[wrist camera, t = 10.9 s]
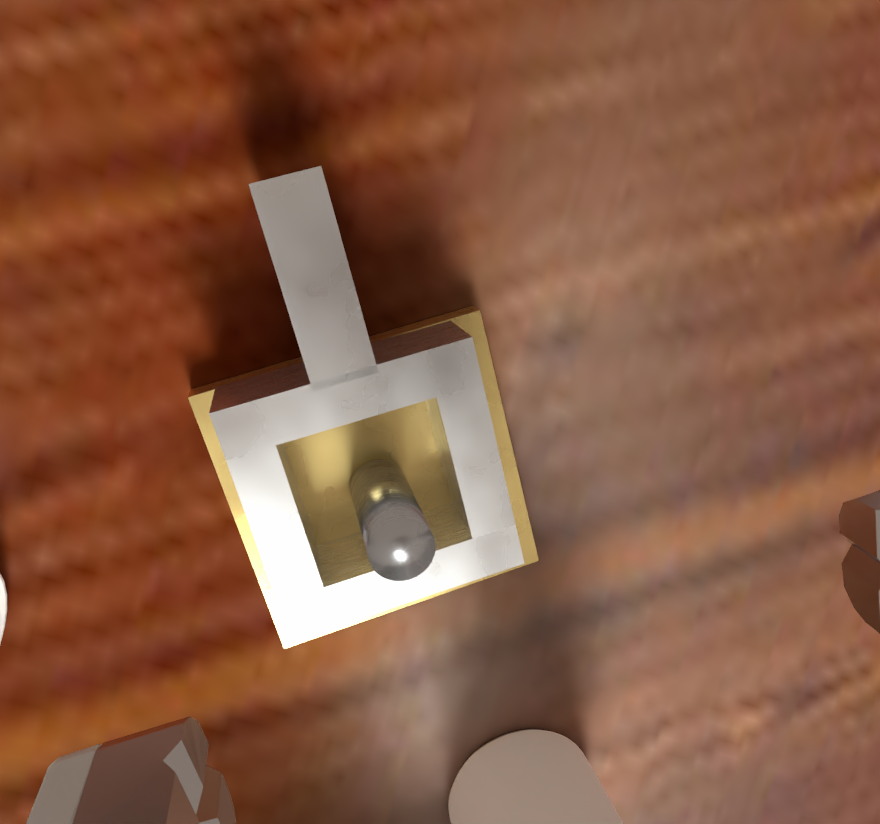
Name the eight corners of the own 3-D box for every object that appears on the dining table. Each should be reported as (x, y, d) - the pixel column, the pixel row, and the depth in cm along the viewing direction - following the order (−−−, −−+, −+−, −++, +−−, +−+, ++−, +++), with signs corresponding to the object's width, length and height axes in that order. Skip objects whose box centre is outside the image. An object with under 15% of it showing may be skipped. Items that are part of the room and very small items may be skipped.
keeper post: (472, 305, 27) (527, 338, 21) (530, 548, 30) (591, 633, 24) (190, 389, 26) (169, 448, 20) (283, 633, 29) (287, 742, 23)
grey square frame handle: (151, 208, 23) (135, 212, 20) (407, 144, 24) (426, 139, 21) (289, 594, 27) (291, 641, 25) (499, 525, 28) (524, 563, 26)
